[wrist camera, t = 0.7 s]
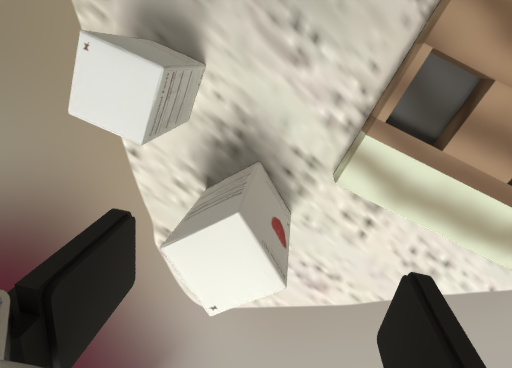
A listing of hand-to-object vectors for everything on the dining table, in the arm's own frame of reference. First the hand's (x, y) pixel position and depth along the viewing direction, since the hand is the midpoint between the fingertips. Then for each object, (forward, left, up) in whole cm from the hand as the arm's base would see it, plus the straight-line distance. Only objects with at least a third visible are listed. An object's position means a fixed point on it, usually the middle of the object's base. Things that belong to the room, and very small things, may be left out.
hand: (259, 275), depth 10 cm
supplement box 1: (+2, -15, -29) cm, 32 cm away
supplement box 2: (+12, 0, -29) cm, 31 cm away
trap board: (-10, +20, -29) cm, 36 cm away
